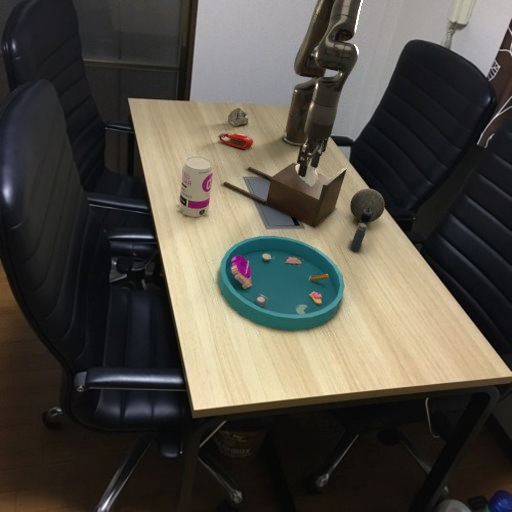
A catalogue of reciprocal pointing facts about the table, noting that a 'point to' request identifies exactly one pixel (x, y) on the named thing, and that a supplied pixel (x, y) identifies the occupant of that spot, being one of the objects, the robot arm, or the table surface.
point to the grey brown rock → (237, 117)
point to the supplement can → (195, 186)
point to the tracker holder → (237, 137)
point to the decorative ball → (367, 204)
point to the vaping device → (361, 230)
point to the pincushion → (309, 175)
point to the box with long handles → (299, 194)
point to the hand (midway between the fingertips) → (307, 171)
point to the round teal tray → (281, 283)
